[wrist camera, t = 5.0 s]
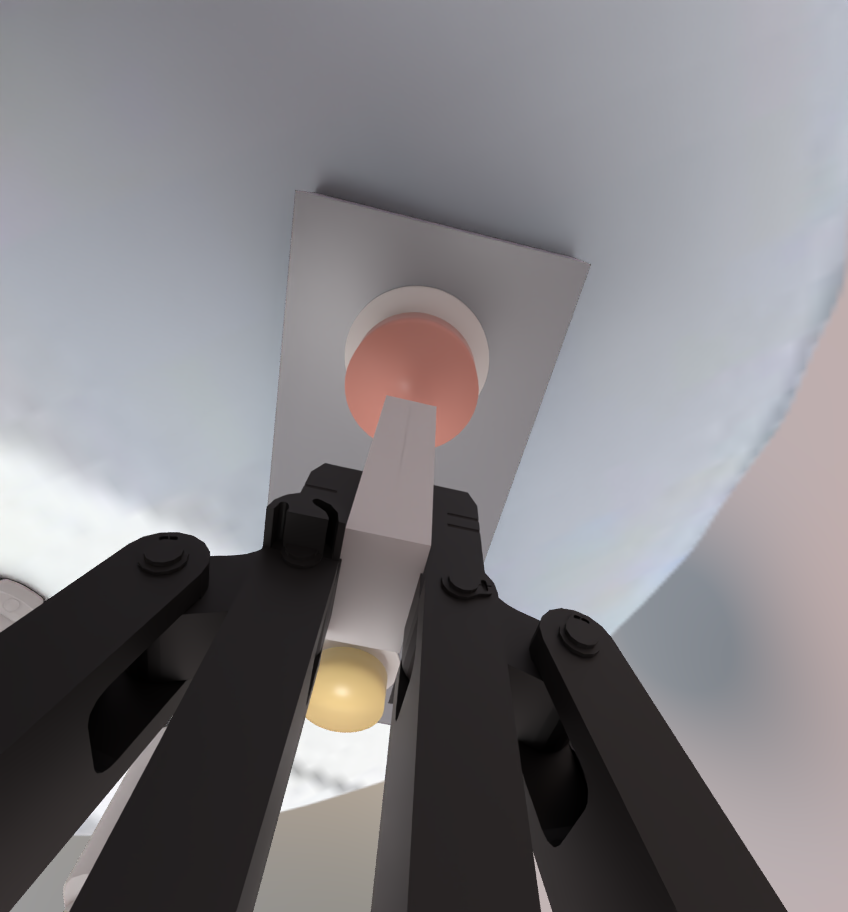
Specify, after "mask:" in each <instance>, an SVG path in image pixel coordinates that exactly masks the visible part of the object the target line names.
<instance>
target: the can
mask: <svg viewBox="0 0 848 912" xmlns="http://www.w3.org/2000/svg"><path fill="white" fill-rule="evenodd" d="M166 728H167V726H166V727H163V728H162V729H161V730H160V732H159V733H158V734H157V735H156V736H155V738H154V739H153V740H152V741H151V742H150V744H149V745H148V746H147V747H146V748H145V750H144V751H143V752H142V753H141V754H140V756H139V757H138V758H137V759H136V760H135V762H134V763H133V764H132V765H131V766H130V768H129V770H128V772H127V773H126V775H125V777H124V779H123V781H122V782H121V784H120V786H119V788H118V789H117V791H116V793H115V795H114V797H113V798H112V800H111V802H110V804H109V805H108V807H107V809H106V811H105V813H104V814H103V816H102V818H101V820H100V822H99V823H98V825H97V827H96V829H95V830H94V832H93V834H92V836H91V838H90V839H89V841H88V843H87V845H86V846H85V848H84V850H83V852H82V854H81V855H80V857H79V859H78V861H77V863H76V864H75V866H74V868H73V870H72V871H71V873H70V875H69V877H68V879H67V880H66V882H65V884H64V889H63V897H64V904H65V910H64V911H63V912H69V911H70V909H71V907H72V905H73V903H74V901H75V900H76V898H77V896H78V894H79V892H80V890H81V888H82V886H83V885H84V883H85V881H86V879H87V877H88V875H89V873H90V871H91V869H92V868H93V866H94V864H95V862H96V860H97V858H98V856H99V854H100V852H101V851H102V849H103V847H104V845H105V843H106V841H107V839H108V837H109V836H110V834H111V832H112V830H113V828H114V826H115V824H116V822H117V820H118V819H119V817H120V815H121V813H122V811H123V809H124V807H125V805H126V803H127V802H128V800H129V798H130V796H131V794H132V792H133V790H134V788H135V787H136V785H137V783H138V781H139V779H140V777H141V775H142V773H143V771H144V770H145V768H146V766H147V764H148V762H149V760H150V758H151V756H152V754H153V753H154V751H155V749H156V747H157V745H158V743H159V741H160V739H161V738H162V736H163V734H164V732H165V730H166Z"/></svg>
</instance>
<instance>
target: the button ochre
mask: <svg viewBox="0 0 848 912" xmlns="http://www.w3.org/2000/svg"><path fill="white" fill-rule="evenodd" d="M386 688H387V672H386V669H385V667H384V666H383V664H382V663H381V662H380V661H379V660H378V659H377V658H376V657H374V656H373V655H371V654H370V653H368V652H365V651H363V650H360V649H356V648H352V647H333V648H329V649H325V650H323V651H322V655H321V660H320V665H319V669H318V672H317V676H316V680H315V683H314V687H313V691H312V694H311V698H310V702H309V706H308V709H307V713H306V718H307V719H308V720H309V721H310V722H312V723H313V724H315V725H317V726H319V727H321V728H324V729H327V730H330V731H335V732H345V733H346V732H357V731H362V730H365V729H367V728H370V727H371V726H373V725H375V724H376V723H377V722H378V721H379V720H380V718H381V717H382V715H383V711H384V704H385V696H386Z"/></svg>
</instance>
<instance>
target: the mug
mask: <svg viewBox="0 0 848 912" xmlns="http://www.w3.org/2000/svg"><path fill="white" fill-rule="evenodd" d="M42 603H43V598H42V597H41V596H39V595H38V594H37V593H35V592H34V591H32V590H30V589H29V588H27V587H25V586H23V585H21V584H19V583H17V582H14V581H11V580H9V579H3V580H0V632H2V631H3V630H5V629H6V628H7V627H9V626H10V625H12V624H13V623H15V622H16V621H18V620H19V619H21V618H22V617H23V616H25V615H26V614H28V613H29V612H31V611H32V610H34V609H35V608H36V607H38V606H39V605H41V604H42Z"/></svg>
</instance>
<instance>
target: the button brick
mask: <svg viewBox="0 0 848 912" xmlns="http://www.w3.org/2000/svg"><path fill="white" fill-rule="evenodd" d="M478 393H479V385H478V377H477V372H476V367H475V362H474V357H473V354H472V351H471V349H470V347H469V345H468V343H467V341H466V340H465V338H464V337H463V336H462V334H461V333H460V332H459V331H458V330H457V329H456V328H455V327H453V326H452V325H451V324H449V323H448V322H446V321H445V320H443V319H441V318H439V317H436V316H433V315H430V314H426V313H420V312H407V313H401V314H397V315H393V316H391V317H388V318H386V319H384V320H382V321H381V322H379V323H378V324H376V325H375V326H374V327H373V328H372V329H371V330H370V331H369V332H368V333H367V334H366V335H365V337H364V338H363V339H362V341H361V343H360V344H359V346H358V347H357V349H356V351H355V352H354V354H353V356H352V358H351V360H350V362H349V365H348V367H347V371H346V375H345V395H346V400H347V404H348V407H349V410H350V412H351V414H352V416H353V417H354V419H355V420H356V422H357V424H358V425H359V426H360V427H361V428H362V429H363V430H364V431H365V432H366V433H367V434H368V435H369V436H370V437H372V438H373V437H374V434H375V431H376V427H377V424H378V421H379V418H380V415H381V411H382V408H383V405H384V402H385V398H386V395H388V396H392V397H397V398H401V399H405V400H410V401H414V402H419V403H423V404H427V405H432V406H436V407H437V408H436V433H435V447H438V446H440V445H443V444H445V443H447V442H448V441H450V440H451V439H453V438H454V437H455V436H457V435H458V434H459V433H460V432H461V431H462V430H463V429H464V428H465V427H466V425H467V424H468V422H469V421H470V419H471V417H472V415H473V413H474V411H475V408H476V405H477V400H478Z"/></svg>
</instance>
